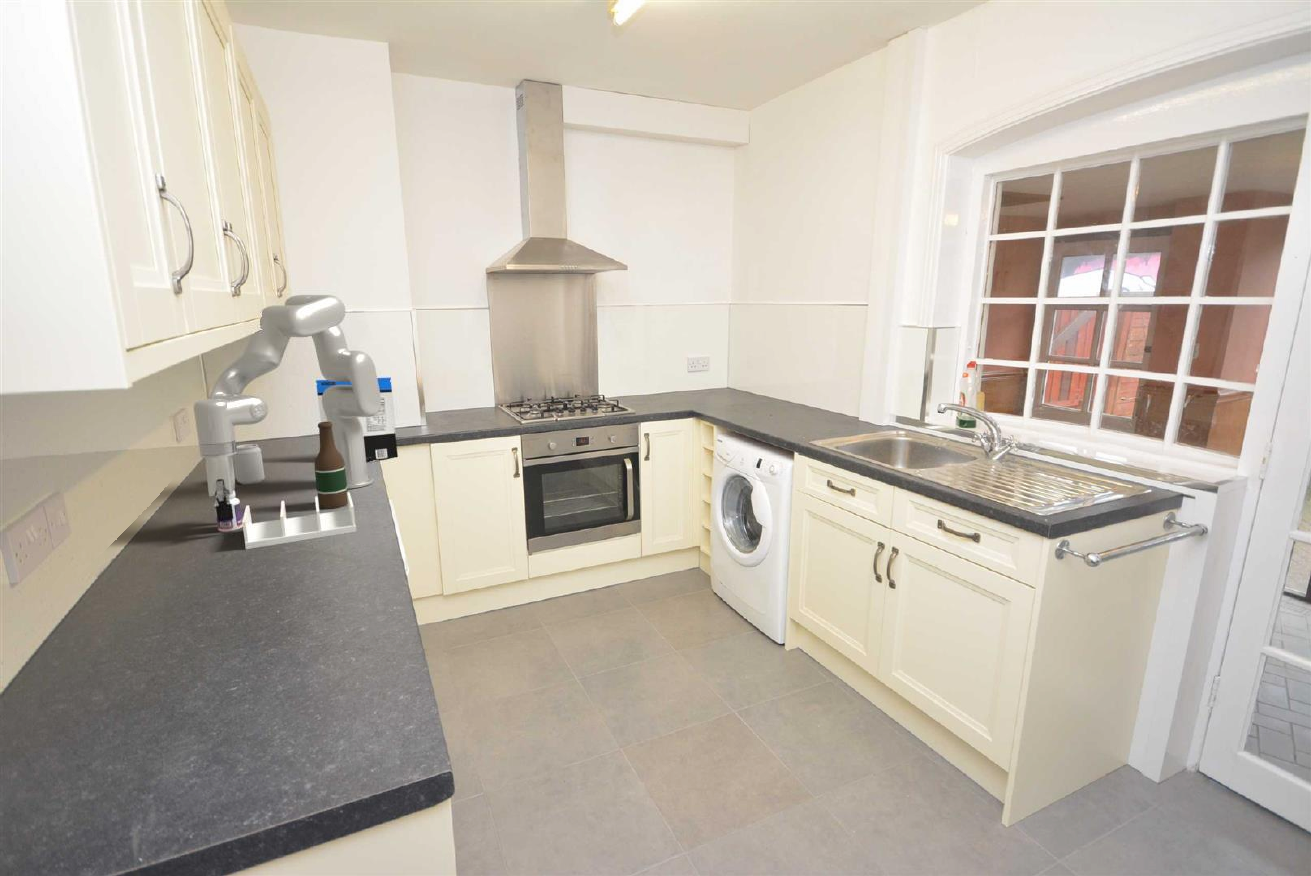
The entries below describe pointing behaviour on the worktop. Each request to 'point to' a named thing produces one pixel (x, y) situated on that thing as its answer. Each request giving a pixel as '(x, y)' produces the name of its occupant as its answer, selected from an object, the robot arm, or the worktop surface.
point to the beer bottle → (330, 471)
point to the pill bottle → (237, 516)
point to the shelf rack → (297, 526)
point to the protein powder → (372, 422)
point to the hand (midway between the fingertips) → (227, 514)
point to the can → (249, 464)
